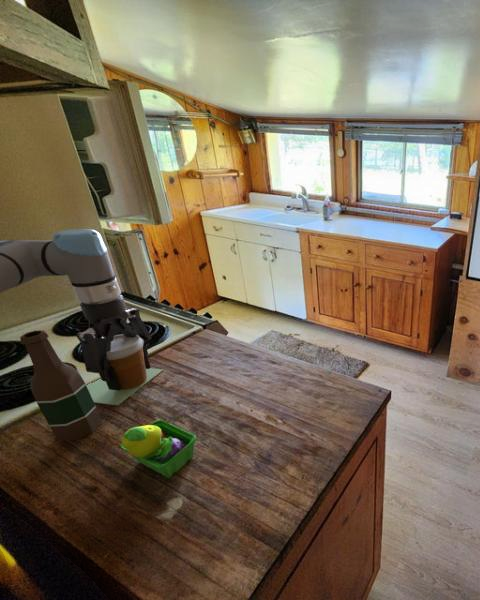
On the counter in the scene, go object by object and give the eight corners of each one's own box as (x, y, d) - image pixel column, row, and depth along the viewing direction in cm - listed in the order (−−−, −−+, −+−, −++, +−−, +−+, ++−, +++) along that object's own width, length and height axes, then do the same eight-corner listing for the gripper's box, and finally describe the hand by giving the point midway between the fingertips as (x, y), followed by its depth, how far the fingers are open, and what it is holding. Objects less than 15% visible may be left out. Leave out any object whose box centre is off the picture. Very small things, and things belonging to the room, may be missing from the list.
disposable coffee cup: (99, 395, 79) (81, 354, 74) (121, 371, 88) (107, 333, 83) (143, 392, 81) (129, 352, 76) (161, 369, 90) (149, 331, 85)
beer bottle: (112, 420, 73) (71, 327, 63) (72, 447, 66) (19, 348, 56) (86, 412, 75) (43, 320, 65) (45, 437, 68) (-11, 340, 58)
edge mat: (65, 398, 78) (64, 398, 78) (117, 364, 91) (117, 364, 91) (117, 405, 77) (117, 405, 77) (163, 370, 90) (163, 369, 90)
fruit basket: (203, 454, 66) (191, 412, 61) (160, 492, 59) (142, 448, 54) (165, 436, 70) (150, 395, 65) (119, 469, 62) (99, 426, 57)
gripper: (67, 321, 65) (105, 408, 74) (153, 283, 83) (174, 356, 93) (34, 317, 65) (76, 404, 75) (126, 280, 84) (150, 353, 94)
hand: (130, 377), depth 84 cm, fingers closed on disposable coffee cup, 8 cm apart
